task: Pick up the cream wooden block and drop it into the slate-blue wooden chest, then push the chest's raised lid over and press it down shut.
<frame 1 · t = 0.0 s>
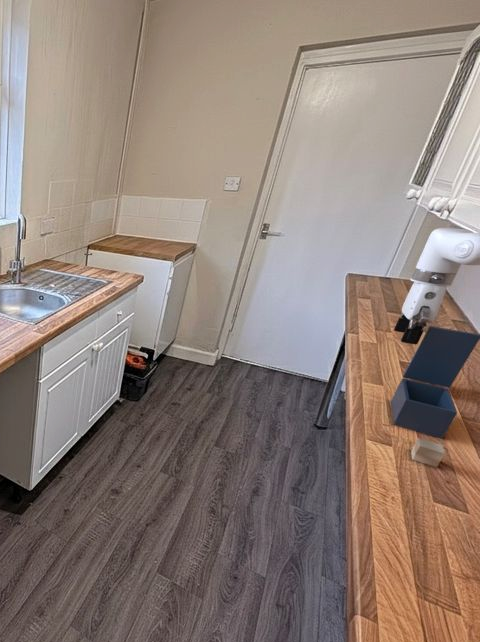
hand: (404, 337, 114), 19 cm above the worktop, tool pointing down, fingers open, 9 cm apart
lid: (439, 357, 109), point 16 cm above the worktop, hinge at 80.0°
chest: (415, 418, 111), on the worktop
food container: (417, 385, 128), on the worktop
block: (423, 459, 96), on the worktop
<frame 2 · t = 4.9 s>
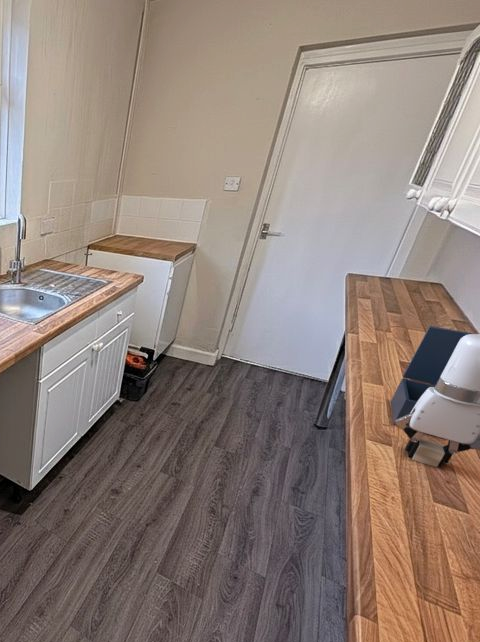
hand: (424, 458, 96), 0 cm above the worktop, tool pointing down, fingers closed on block, 4 cm apart
block: (423, 459, 96), on the worktop, touching gripper
everything else where it was.
when the fingers open (7 cm above the worktop, at t = 11.5 s): block stays where it is, resting on chest.
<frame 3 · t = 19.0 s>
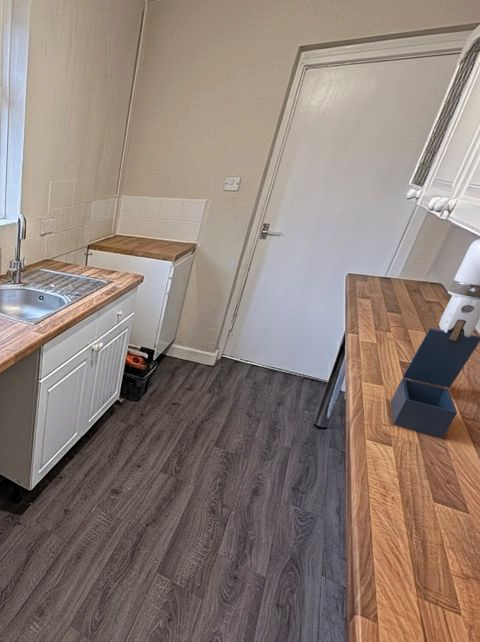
hand: (438, 356, 110), 16 cm above the worktop, tool pointing down, fingers closed
lid: (439, 358, 108), point 16 cm above the worktop, hinge at 75.8°, touching gripper
block: (417, 423, 108), point 1 cm above the worktop, touching chest
everything else where it was.
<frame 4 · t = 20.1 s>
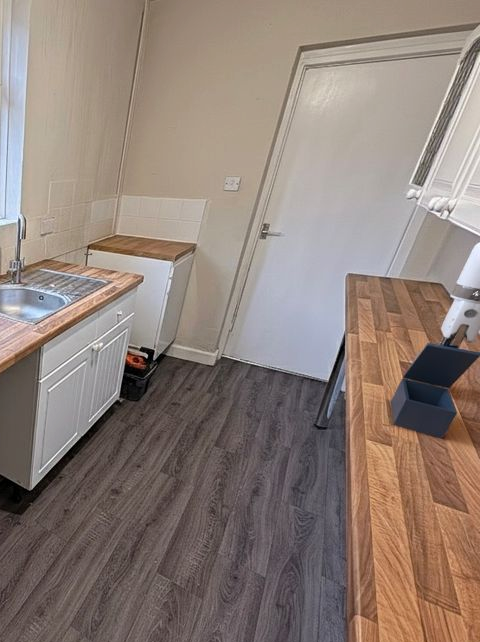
hand: (440, 361, 107), 16 cm above the worktop, tool pointing down, fingers closed
lid: (438, 366, 107), point 15 cm above the worktop, hinge at 54.3°, touching gripper
everything else where it was.
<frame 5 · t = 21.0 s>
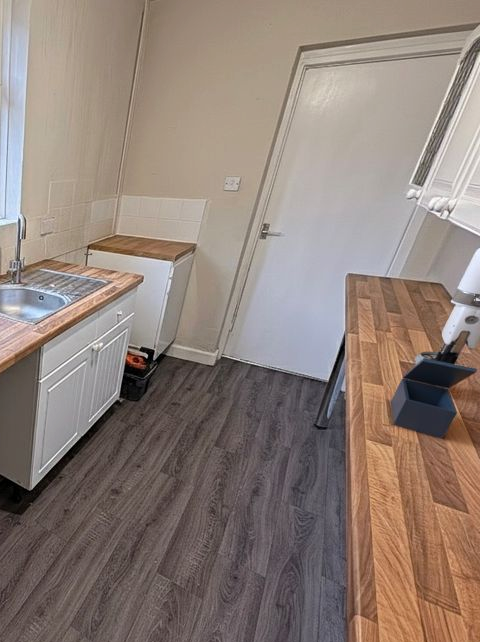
hand: (441, 368, 105), 15 cm above the worktop, tool pointing down, fingers closed
lid: (436, 373, 107), point 13 cm above the worktop, hinge at 38.1°, touching gripper
everything else where it was.
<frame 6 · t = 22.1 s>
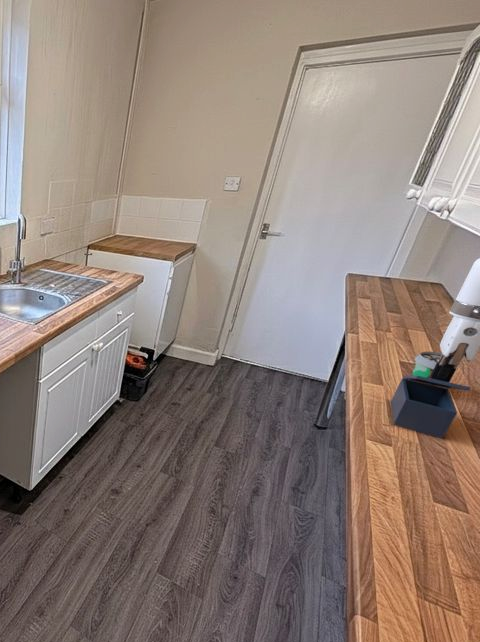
hand: (439, 379, 103), 13 cm above the worktop, tool pointing down, fingers closed
lid: (433, 382, 107), point 11 cm above the worktop, hinge at 21.7°, touching gripper
everything else where it was.
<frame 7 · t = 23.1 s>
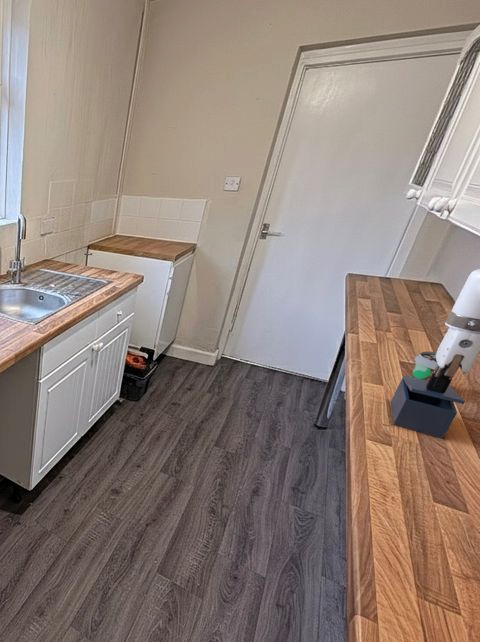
hand: (434, 390, 103), 11 cm above the worktop, tool pointing down, fingers closed
lid: (431, 388, 107), point 10 cm above the worktop, hinge at 9.5°, touching gripper
everything else where it was.
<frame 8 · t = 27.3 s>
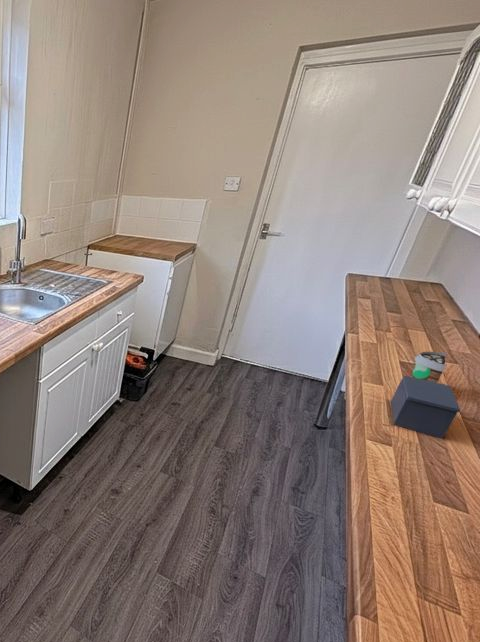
lid: (429, 392, 107), point 8 cm above the worktop, hinge at 1.3°
everything else where it was.
at the end: block inside the target area in the chest (4.0 cm from its centre), point 0.7 cm above the chest's base; lid at +1° (first picture: +80°) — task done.
